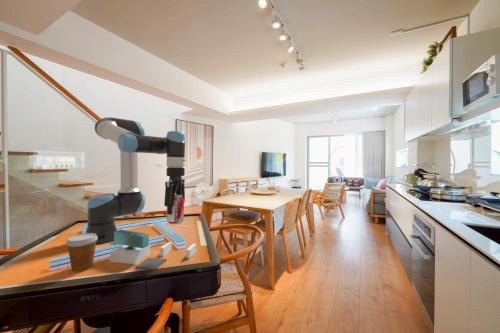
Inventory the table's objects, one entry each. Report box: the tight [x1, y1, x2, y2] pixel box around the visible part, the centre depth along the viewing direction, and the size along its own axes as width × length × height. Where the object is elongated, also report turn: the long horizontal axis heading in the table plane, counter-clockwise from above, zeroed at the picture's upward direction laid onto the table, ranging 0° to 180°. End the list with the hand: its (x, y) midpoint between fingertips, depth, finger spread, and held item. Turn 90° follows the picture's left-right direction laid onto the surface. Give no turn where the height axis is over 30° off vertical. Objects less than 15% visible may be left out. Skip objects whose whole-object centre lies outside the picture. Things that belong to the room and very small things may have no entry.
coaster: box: [135, 257, 167, 271], centre depth 85 cm, size 8×8×1 cm
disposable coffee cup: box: [65, 232, 98, 273], centre depth 81 cm, size 10×10×12 cm
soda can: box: [166, 194, 185, 225], centre depth 93 cm, size 7×7×12 cm
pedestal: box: [109, 244, 151, 265], centre depth 90 cm, size 11×10×4 cm
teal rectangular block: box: [113, 229, 150, 249], centre depth 90 cm, size 3×16×6 cm, turn 71°
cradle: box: [159, 241, 197, 259], centre depth 95 cm, size 14×7×4 cm, turn 82°
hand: (175, 219), depth 93 cm, fingers closed on soda can, 7 cm apart
